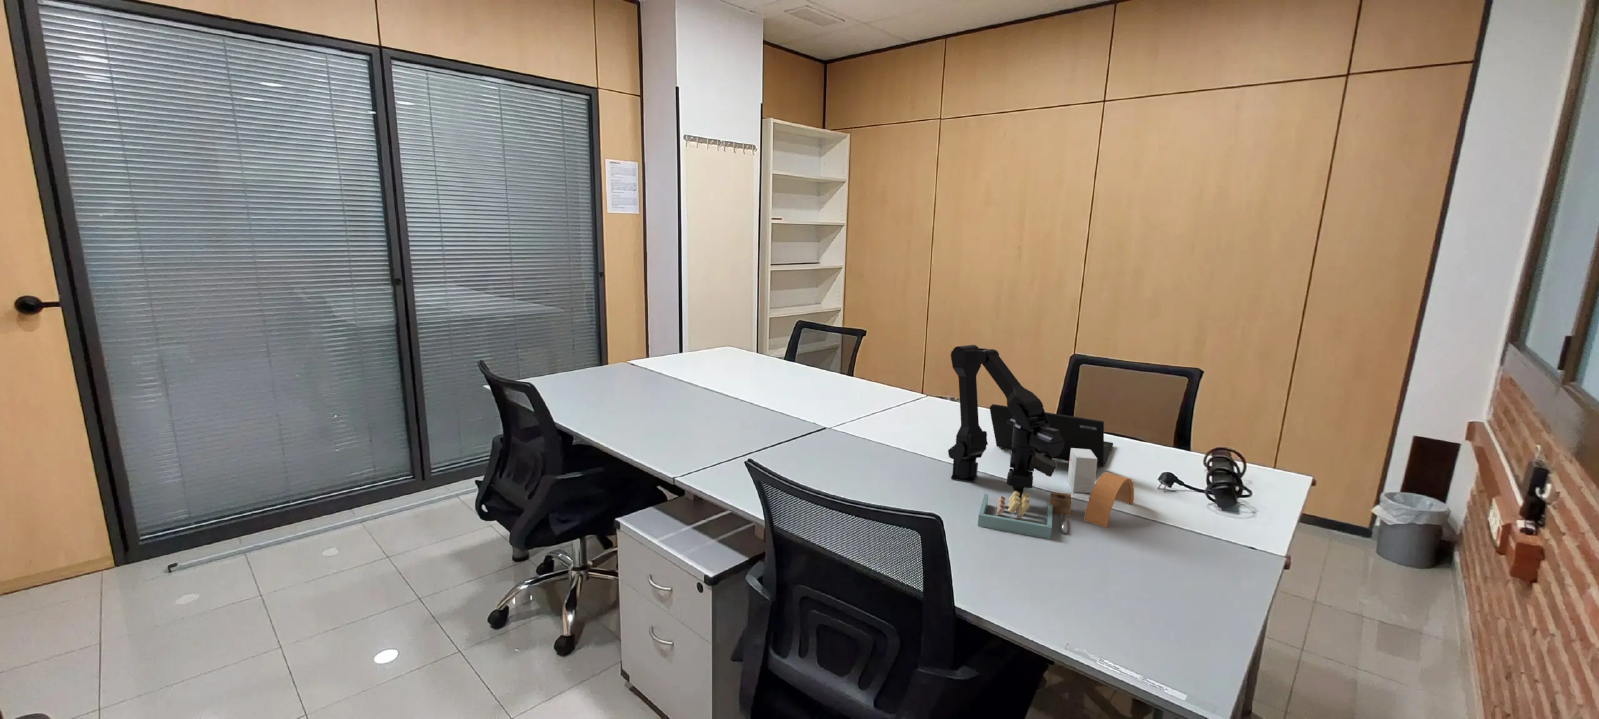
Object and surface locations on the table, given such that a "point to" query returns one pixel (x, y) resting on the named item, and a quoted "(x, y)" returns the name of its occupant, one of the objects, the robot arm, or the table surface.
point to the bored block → (1060, 503)
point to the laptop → (1071, 429)
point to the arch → (1107, 497)
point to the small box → (1082, 470)
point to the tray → (1015, 523)
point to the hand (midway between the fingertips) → (1018, 498)
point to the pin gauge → (1063, 524)
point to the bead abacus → (1014, 504)
